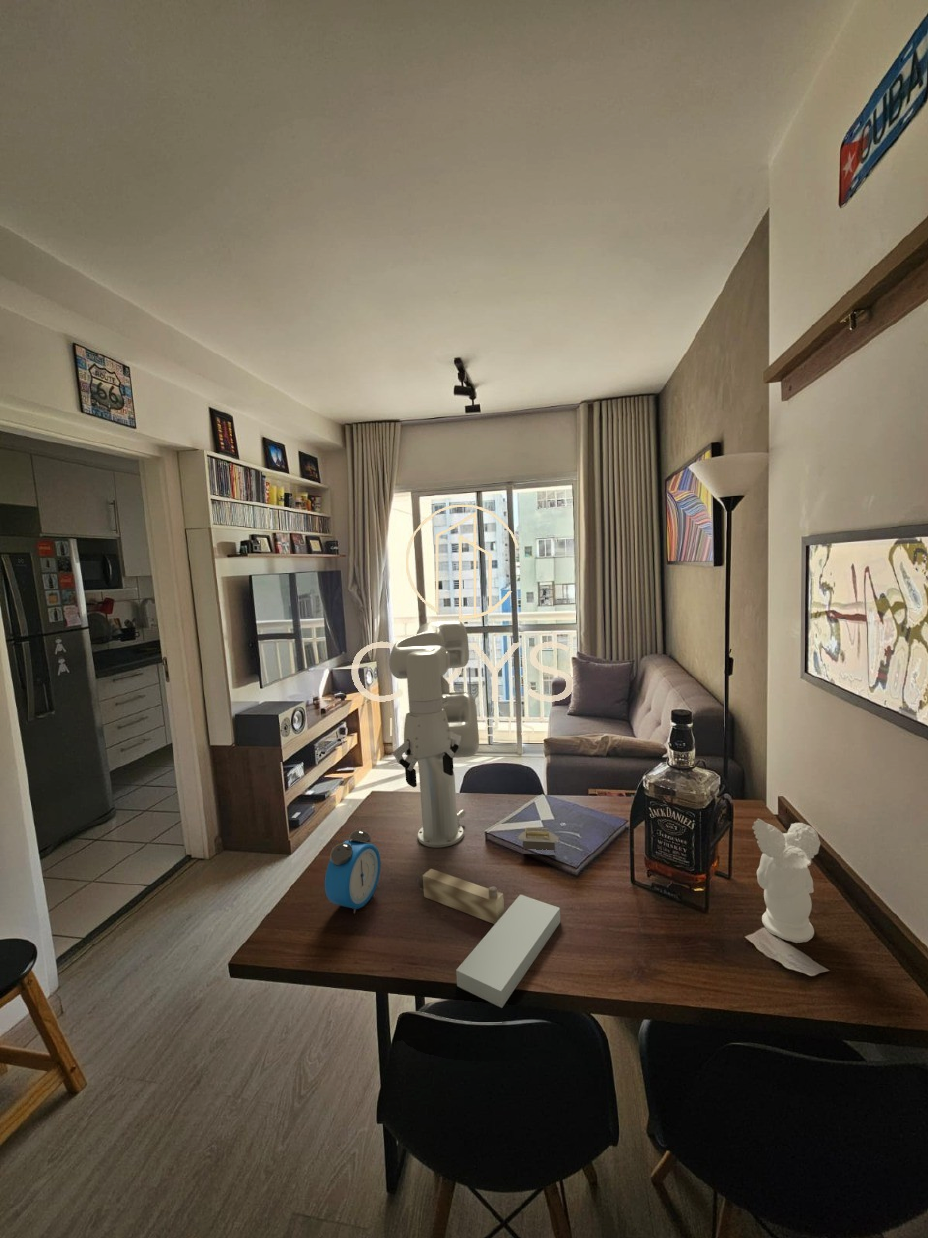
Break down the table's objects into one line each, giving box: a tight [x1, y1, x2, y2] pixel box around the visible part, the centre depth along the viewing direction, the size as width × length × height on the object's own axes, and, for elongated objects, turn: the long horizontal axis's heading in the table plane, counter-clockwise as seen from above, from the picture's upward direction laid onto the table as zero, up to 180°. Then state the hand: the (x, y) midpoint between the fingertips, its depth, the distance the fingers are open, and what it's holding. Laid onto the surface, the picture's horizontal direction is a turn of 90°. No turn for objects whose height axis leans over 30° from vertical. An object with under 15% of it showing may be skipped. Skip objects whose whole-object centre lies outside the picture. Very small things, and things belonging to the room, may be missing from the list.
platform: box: [517, 827, 560, 851], centre depth 131 cm, size 12×18×7 cm, turn 78°
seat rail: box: [455, 894, 561, 1009], centre depth 98 cm, size 24×9×3 cm, turn 146°
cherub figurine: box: [752, 817, 821, 944], centre depth 97 cm, size 12×12×22 cm
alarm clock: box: [324, 828, 381, 914], centre depth 115 cm, size 13×6×15 cm, turn 156°
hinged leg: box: [418, 868, 505, 925], centre depth 112 cm, size 20×3×6 cm, turn 56°
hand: (430, 779), depth 118 cm, fingers open, 9 cm apart
